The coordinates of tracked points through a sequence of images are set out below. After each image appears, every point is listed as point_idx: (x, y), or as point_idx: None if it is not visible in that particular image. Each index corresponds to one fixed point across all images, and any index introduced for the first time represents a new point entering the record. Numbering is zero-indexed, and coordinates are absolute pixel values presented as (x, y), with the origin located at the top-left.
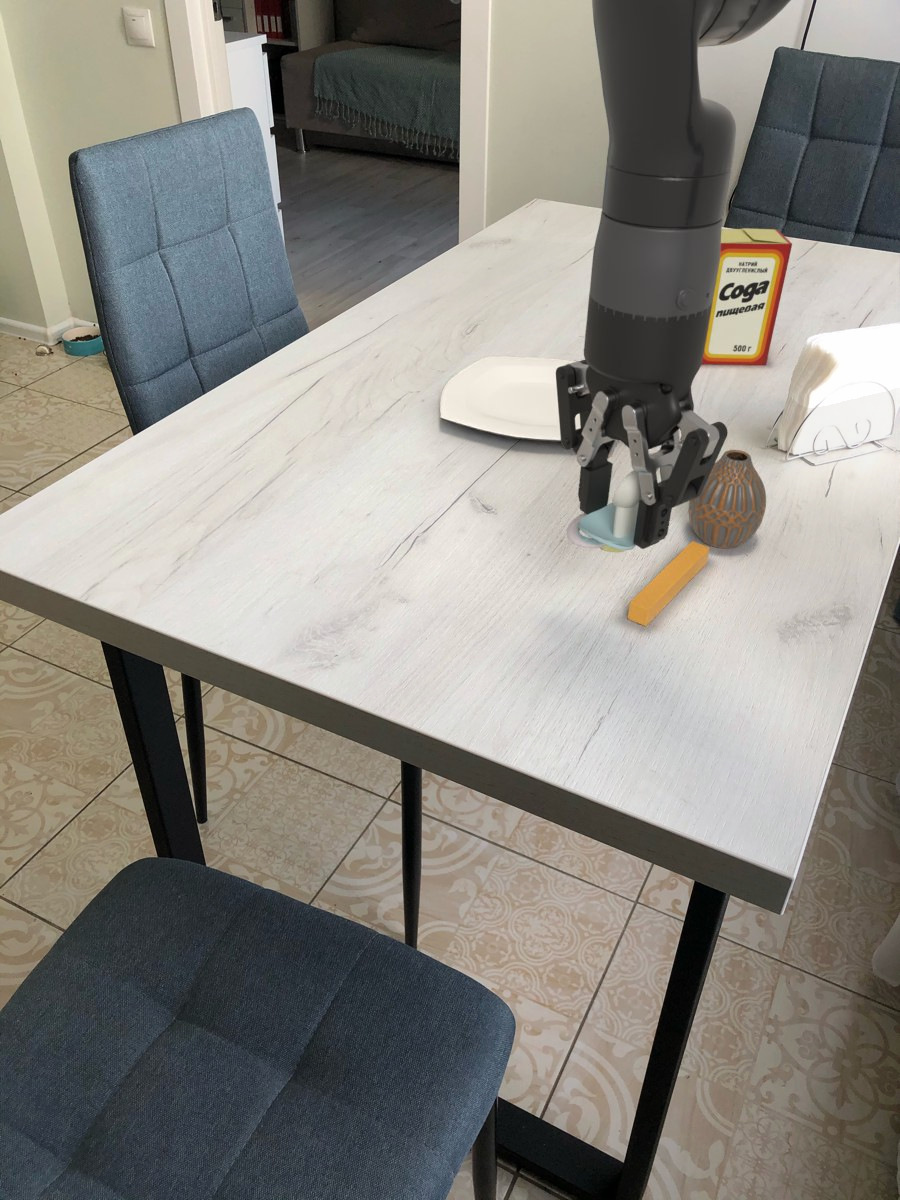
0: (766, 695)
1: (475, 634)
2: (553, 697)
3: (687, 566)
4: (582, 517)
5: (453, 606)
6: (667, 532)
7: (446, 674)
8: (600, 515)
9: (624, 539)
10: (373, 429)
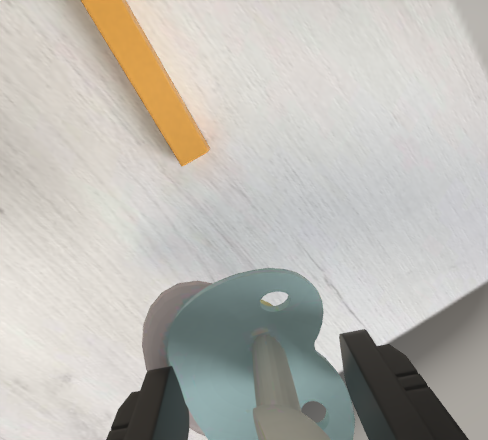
0: (389, 85)
1: None
2: None
3: (125, 16)
4: None
5: (92, 337)
6: (407, 358)
7: None
8: (197, 384)
9: (298, 371)
10: None
